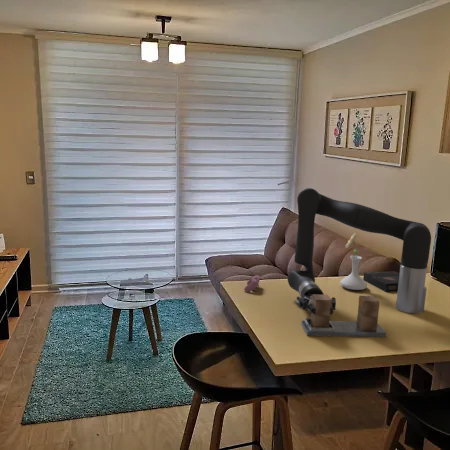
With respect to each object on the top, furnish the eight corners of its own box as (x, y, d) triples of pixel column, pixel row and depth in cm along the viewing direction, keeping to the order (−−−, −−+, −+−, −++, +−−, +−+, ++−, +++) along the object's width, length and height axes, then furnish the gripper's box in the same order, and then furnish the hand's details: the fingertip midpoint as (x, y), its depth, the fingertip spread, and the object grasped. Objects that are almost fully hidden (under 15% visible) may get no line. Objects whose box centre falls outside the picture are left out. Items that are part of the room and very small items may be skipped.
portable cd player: (385, 293, 198) (386, 284, 197) (363, 281, 214) (363, 272, 213) (418, 291, 202) (419, 282, 202) (393, 279, 218) (394, 271, 218)
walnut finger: (325, 322, 158) (328, 294, 156) (329, 328, 153) (332, 299, 151) (310, 322, 157) (312, 294, 155) (313, 328, 153) (316, 299, 151)
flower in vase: (345, 282, 209) (350, 227, 205) (370, 287, 203) (376, 231, 198) (334, 289, 199) (339, 231, 194) (360, 295, 192) (365, 236, 188)
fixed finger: (371, 324, 159) (374, 296, 157) (376, 330, 154) (379, 301, 152) (355, 323, 158) (358, 295, 156) (360, 329, 153) (363, 300, 151)
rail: (375, 325, 161) (376, 319, 160) (385, 336, 152) (386, 329, 152) (301, 324, 159) (301, 317, 159) (307, 335, 151) (307, 328, 150)
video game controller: (252, 296, 190) (261, 282, 189) (243, 290, 191) (251, 276, 189) (255, 289, 200) (263, 275, 198) (246, 283, 200) (254, 270, 199)
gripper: (291, 283, 167) (302, 300, 150) (331, 284, 168) (345, 301, 151) (290, 303, 168) (300, 322, 152) (329, 303, 169) (343, 322, 152)
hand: (322, 311), depth 151 cm, fingers closed on walnut finger, 5 cm apart
